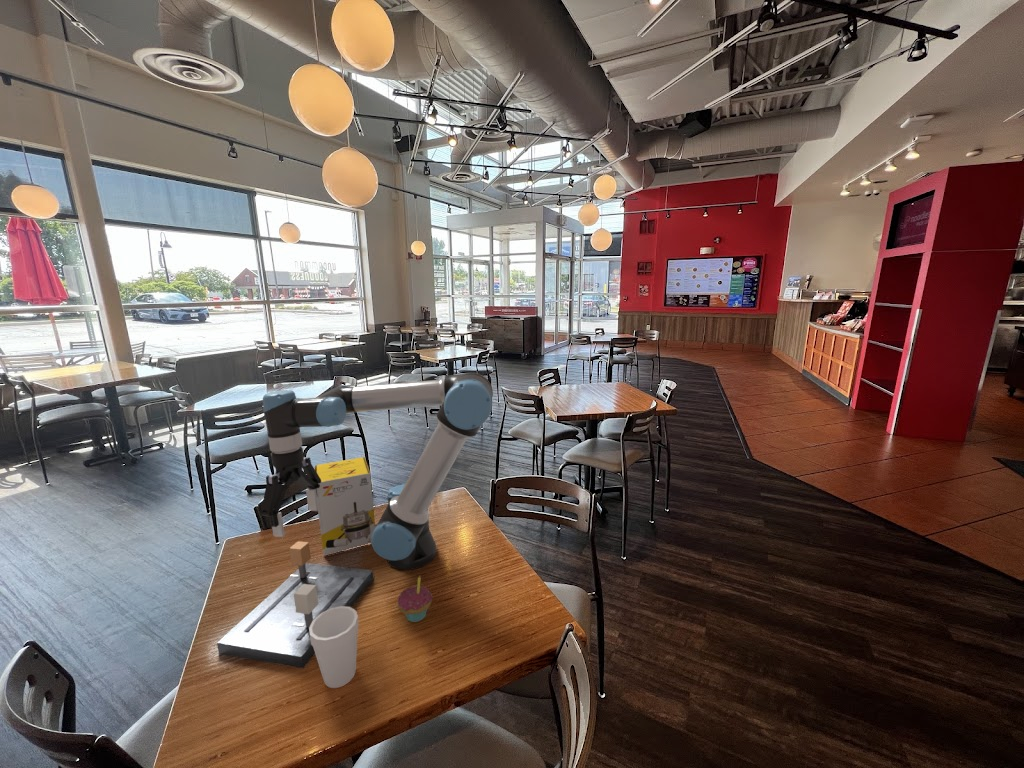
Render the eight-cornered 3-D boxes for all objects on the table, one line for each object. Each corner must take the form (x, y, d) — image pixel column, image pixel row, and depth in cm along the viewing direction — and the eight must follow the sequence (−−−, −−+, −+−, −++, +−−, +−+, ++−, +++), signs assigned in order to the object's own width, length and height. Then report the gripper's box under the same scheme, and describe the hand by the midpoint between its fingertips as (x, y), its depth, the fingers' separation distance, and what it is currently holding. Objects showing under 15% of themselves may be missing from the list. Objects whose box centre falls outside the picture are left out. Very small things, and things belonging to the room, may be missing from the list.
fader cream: (320, 620, 100) (316, 585, 98) (311, 631, 97) (306, 595, 95) (308, 619, 101) (303, 583, 99) (298, 629, 97) (293, 593, 95)
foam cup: (325, 658, 93) (319, 607, 91) (367, 654, 94) (362, 604, 92) (309, 697, 84) (301, 642, 82) (355, 693, 85) (349, 638, 82)
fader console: (374, 579, 120) (373, 569, 119) (304, 668, 91) (302, 656, 90) (306, 571, 124) (304, 562, 123) (218, 653, 95) (216, 641, 94)
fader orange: (312, 573, 118) (308, 542, 116) (304, 580, 115) (300, 549, 113) (302, 571, 119) (298, 541, 117) (293, 579, 115) (289, 548, 113)
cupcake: (439, 607, 108) (436, 566, 106) (421, 631, 100) (418, 588, 98) (410, 600, 111) (407, 560, 109) (391, 623, 103) (387, 580, 101)
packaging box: (323, 556, 131) (314, 483, 126) (322, 532, 146) (314, 465, 141) (376, 543, 138) (370, 473, 133) (370, 520, 152) (364, 456, 148)
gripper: (305, 433, 122) (315, 500, 126) (235, 466, 98) (249, 547, 102) (328, 434, 121) (337, 501, 125) (262, 468, 97) (275, 549, 101)
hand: (297, 522), depth 113 cm, fingers open, 13 cm apart
